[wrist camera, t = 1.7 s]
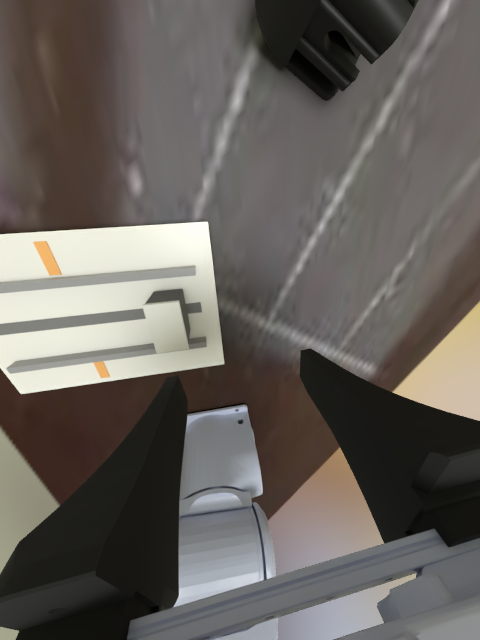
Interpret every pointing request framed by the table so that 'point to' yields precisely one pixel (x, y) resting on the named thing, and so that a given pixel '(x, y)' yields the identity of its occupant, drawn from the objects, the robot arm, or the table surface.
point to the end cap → (330, 36)
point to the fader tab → (168, 320)
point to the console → (102, 303)
